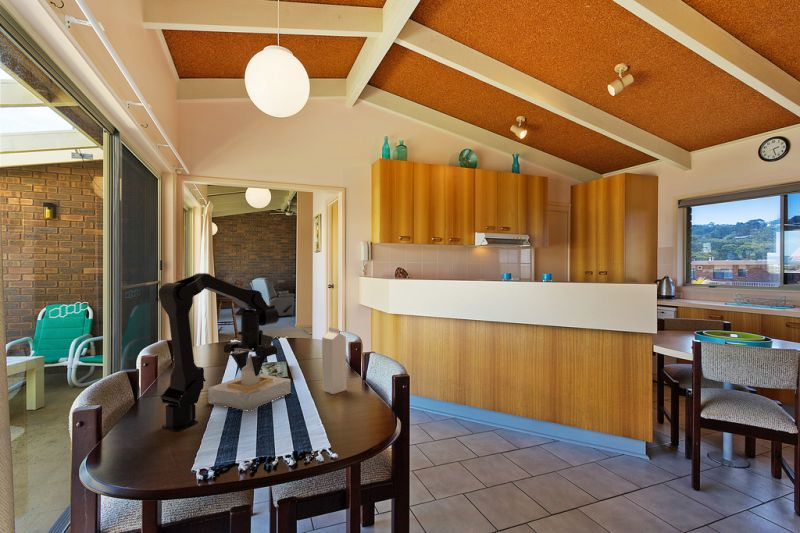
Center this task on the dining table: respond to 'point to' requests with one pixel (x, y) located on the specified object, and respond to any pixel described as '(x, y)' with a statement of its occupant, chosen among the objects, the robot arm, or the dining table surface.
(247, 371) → the eye dropper bottle
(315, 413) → the dining table surface
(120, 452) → the dining table surface
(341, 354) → the milk
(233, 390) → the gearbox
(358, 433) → the dining table surface
